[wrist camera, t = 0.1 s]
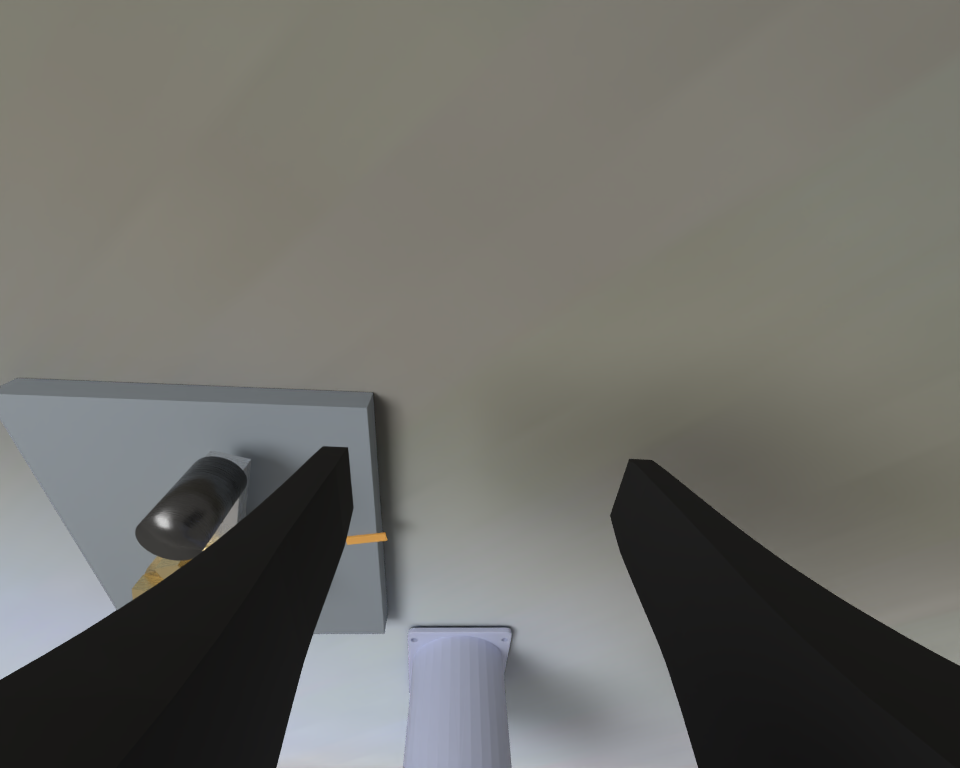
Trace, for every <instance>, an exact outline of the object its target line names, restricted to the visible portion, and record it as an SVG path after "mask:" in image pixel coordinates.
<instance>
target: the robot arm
mask: <svg viewBox="0 0 960 768" xmlns="http://www.w3.org/2000/svg"><path fill="white" fill-rule="evenodd" d="M353 509H354V506H353V495H352V484H351V473H350V462H349V451H348V447H331V446H323V447H321V448H320V449H319V450H318V451H317V452H316V453H315V454H314V455H313V456H311V457H310V458H309V459H308V460H307V461H306V462H305V463H304V464H303V465H302V466H301V467H300V468H299V469H298V470H297V471H296V472H295V473H294V474H293V475H291V476H290V477H289V478H288V479H287V480H286V481H285V482H284V483H283V484H282V485H281V486H280V487H279V488H277V489H276V490H275V491H274V492H273V493H272V494H271V495H270V496H269V497H267V498H266V499H265V500H264V501H263V502H262V503H261V504H260V505H259V506H257V507H256V508H255V509H254V510H253V511H252V512H250V513H249V514H248V515H247V516H246V517H244V518H243V519H242V520H241V521H240V522H238V523H237V524H236V525H235V526H234V527H232V528H231V529H230V530H229V531H227V532H226V533H225V534H224V535H223V536H221V537H220V538H219V539H218V540H216V541H215V542H214V543H213V544H211V545H210V546H209V547H207V548H206V549H205V550H204V551H202V552H201V553H200V554H198V555H197V556H196V557H194V558H193V559H192V560H190V561H189V562H188V563H186V564H185V565H183V566H182V567H181V568H179V569H178V570H176V571H175V572H174V573H172V574H171V575H169V576H168V577H167V578H165V579H164V580H162V581H161V582H159V583H158V584H156V585H155V586H153V587H152V588H150V589H149V590H147V591H146V592H144V593H143V594H141V595H140V596H138V597H136V598H135V599H133V600H132V601H130V602H129V603H127V604H126V605H124V606H123V607H121V608H119V609H118V610H116V611H115V612H113V613H112V614H110V615H109V616H107V617H105V618H104V619H102V620H101V621H99V622H98V623H96V624H95V625H93V626H91V627H90V628H88V629H87V630H85V631H83V632H82V633H80V634H78V635H77V636H75V637H73V638H72V639H70V640H68V641H67V642H65V643H63V644H62V645H60V646H58V647H56V648H55V649H53V650H51V651H50V652H48V653H46V654H45V655H43V656H41V657H39V658H38V659H36V660H34V661H32V662H31V663H29V664H27V665H25V666H24V667H22V668H20V669H18V670H17V671H15V672H13V673H11V674H10V675H8V676H6V677H4V678H3V679H1V680H0V768H276V767H277V763H278V759H279V755H280V751H281V747H282V743H283V739H284V735H285V731H286V728H287V724H288V720H289V716H290V712H291V708H292V704H293V701H294V697H295V693H296V689H297V686H298V682H299V678H300V674H301V671H302V667H303V663H304V660H305V657H306V654H307V651H308V648H309V645H310V642H311V639H312V636H313V633H314V630H315V628H316V625H317V622H318V619H319V617H320V614H321V611H322V608H323V606H324V603H325V600H326V597H327V595H328V592H329V589H330V586H331V584H332V581H333V578H334V575H335V572H336V570H337V567H338V564H339V561H340V558H341V556H342V553H343V550H344V547H345V543H346V539H347V535H348V531H349V526H350V522H351V517H352V513H353ZM610 517H611V521H612V524H613V528H614V532H615V536H616V539H617V543H618V546H619V549H620V553H621V555H622V558H623V560H624V563H625V565H626V568H627V570H628V573H629V575H630V577H631V580H632V582H633V585H634V587H635V589H636V592H637V594H638V596H639V599H640V601H641V603H642V606H643V608H644V610H645V613H646V615H647V618H648V620H649V622H650V625H651V627H652V629H653V632H654V634H655V636H656V639H657V641H658V644H659V646H660V649H661V651H662V654H663V657H664V659H665V662H666V665H667V668H668V671H669V674H670V677H671V680H672V683H673V686H674V690H675V693H676V696H677V699H678V702H679V705H680V708H681V711H682V715H683V718H684V721H685V725H686V728H687V731H688V735H689V738H690V742H691V745H692V748H693V752H694V755H695V758H696V762H697V765H698V768H960V666H959V665H957V664H955V663H953V662H951V661H949V660H948V659H946V658H944V657H942V656H940V655H938V654H936V653H934V652H933V651H931V650H929V649H927V648H925V647H923V646H922V645H920V644H918V643H916V642H914V641H913V640H911V639H909V638H907V637H905V636H904V635H902V634H900V633H898V632H897V631H895V630H893V629H891V628H890V627H888V626H886V625H885V624H883V623H881V622H879V621H878V620H876V619H874V618H873V617H871V616H869V615H867V614H866V613H864V612H862V611H861V610H859V609H857V608H856V607H854V606H852V605H851V604H849V603H847V602H846V601H844V600H842V599H841V598H839V597H838V596H836V595H834V594H833V593H831V592H830V591H828V590H827V589H825V588H824V587H822V586H820V585H819V584H817V583H816V582H814V581H813V580H811V579H810V578H808V577H807V576H805V575H804V574H802V573H801V572H799V571H797V570H796V569H794V568H793V567H792V566H790V565H789V564H787V563H786V562H784V561H783V560H781V559H780V558H779V557H777V556H776V555H774V554H773V553H772V552H770V551H769V550H767V549H766V548H765V547H763V546H762V545H761V544H759V543H758V542H756V541H755V540H754V539H752V538H751V537H750V536H748V535H747V534H746V533H744V532H743V531H742V530H740V529H739V528H738V527H736V526H735V525H734V524H732V523H731V522H730V521H729V520H727V519H726V518H725V517H723V516H722V515H721V514H720V513H718V512H717V511H716V510H715V509H713V508H712V507H711V506H710V505H708V504H707V503H706V502H705V501H703V500H702V499H701V498H700V497H698V496H697V495H696V494H695V493H693V492H692V491H691V490H690V489H689V488H687V487H686V486H685V485H684V484H682V483H681V482H680V481H679V480H677V479H676V478H675V477H674V476H672V475H671V474H670V473H669V472H667V471H666V470H665V469H663V468H662V467H661V466H659V465H658V464H657V463H655V462H654V461H652V460H640V459H629V461H628V464H627V467H626V470H625V473H624V476H623V479H622V482H621V485H620V488H619V491H618V494H617V497H616V500H615V503H614V506H613V509H612V512H611V514H610ZM511 637H512V633H511V629H509V628H411V629H409V631H408V665H409V693H410V700H409V710H408V721H407V731H406V741H405V751H404V762H403V768H512V766H511V754H510V742H509V730H508V719H507V707H506V695H505V683H504V673H505V668H506V663H507V658H508V652H509V647H510V642H511Z"/></svg>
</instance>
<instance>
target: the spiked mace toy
mask: <svg viewBox="0 0 960 768" xmlns="http://www.w3.org/2000/svg"><path fill="white" fill-rule="evenodd" d="M250 467H251V459H248V458H244V457H239V456H234V455H230V454H225V453H221V452H216V451H212V450H211V451H210V452H209V453H208V454H207V455H206V456H205V457H203V458H200V459H199V460H197V461H196V462H195V463H194V464H193V465H192V466H191V467H190V468H189V469H188V470H187V471H186V473H185V474H184V475H183V476H182V477H181V478H180V479H179V480H178V481H177V482H176V484H175V485H174V486H173V487H172V488H171V489H170V490H169V491H168V492H167V493H166V495H165V496H164V497H163V498H162V499H161V500H160V501H159V502H158V503H157V504H156V506H155V507H154V508H153V509H152V510H151V511H150V512H149V513H148V514H147V515H146V517H145V518H144V519H143V520H142V521H141V522H140V523H139V524H138V526H137V527H136V530H135V536H136V539H137V541H138V542H139V543H140V545H141V546H142V547H143V548H145V549H146V550H147V551H149V552H150V553H152V554H154V555H156V556H157V557H156V558H155V559H154V560H153V562H152V563H151V564H150V565H149V567H148V568H147V570H146V572H145V574H144V575H142V576H141V578H140V579H139V580H138V582H137V583H136V584H135V585H134V587H133V588H132V597H133V599H135V598H136V597H138V596H140V595H141V594H143V593H144V592H146V591H147V590H149V589H150V588H152V587H153V586H155V585H156V584H158V583H159V582H161V581H162V580H164V579H165V578H167V577H168V576H169V575H171V574H172V573H174V572H175V571H176V570H178V569H179V568H181V567H182V566H183V565H185V564H186V563H188V562H189V561H190V560H192V559H193V558H194V557H196V556H197V555H198V554H200V553H201V552H202V551H204V550H205V549H206V548H207V547H209V546H210V545H211V544H213V543H214V542H215V541H216V540H218V539H219V538H220V537H221V536H223V535H224V534H225V533H226V532H227V531H229V530H230V529H231V528H232V527H234V526H235V525H236V524H237V523H238V522H240V521H241V520H242V519H243V518H244V517H246V510H247V499H248V488H249V477H250Z"/></svg>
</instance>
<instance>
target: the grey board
mask: <svg viewBox="0 0 960 768" xmlns="http://www.w3.org/2000/svg"><path fill="white" fill-rule="evenodd" d="M0 420H1V422H2V423H3V425H4V427H5V428H6V430H7V432H8V433H9V435H10V436H11V438H12V440H13V441H14V443H15V445H16V446H17V448H18V450H19V451H20V453H21V454H22V456H23V458H24V459H25V461H26V463H27V464H28V466H29V467H30V469H31V471H32V472H33V474H34V476H35V477H36V479H37V481H38V482H39V484H40V485H41V487H42V489H43V490H44V492H45V494H46V495H47V497H48V498H49V500H50V502H51V503H52V505H53V507H54V508H55V510H56V512H57V513H58V515H59V516H60V518H61V520H62V521H63V523H64V525H65V526H66V528H67V530H68V531H69V533H70V534H71V536H72V538H73V539H74V541H75V543H76V544H77V546H78V547H79V549H80V551H81V552H82V554H83V556H84V557H85V559H86V561H87V562H88V564H89V565H90V567H91V569H92V570H93V572H94V574H95V575H96V577H97V578H98V580H99V582H100V583H101V585H102V587H103V588H104V590H105V592H106V593H107V595H108V596H109V598H110V600H111V601H112V603H113V605H114V606H115V608H116V609H117V610H118V609H119V608H121V607H123V606H124V605H126V604H127V603H129V602H130V601H132V600H133V597H132V588H133V587H134V585H135V584H136V583H137V582H138V580H139V579H140V578H141V576H142V575H144V574H145V572H146V570H147V568H148V567H149V565H150V564H151V563H152V562H153V560H154V559H155V558H156V557H157V556H156V555H154V554H152V553H150V552H149V551H147V550H146V549H145V548H143V547H142V546H141V545H140V543H139V542H138V541H137V539H136V536H135V530H136V527H137V526H138V524H139V523H140V522H141V521H142V520H143V519H144V518H145V517H146V515H147V514H148V513H149V512H150V511H151V510H152V509H153V508H154V507H155V506H156V504H157V503H158V502H159V501H160V500H161V499H162V498H163V497H164V496H165V495H166V493H167V492H168V491H169V490H170V489H171V488H172V487H173V486H174V485H175V484H176V482H177V481H178V480H179V479H180V478H181V477H182V476H183V475H184V474H185V473H186V471H187V470H188V469H189V468H190V467H191V466H192V465H193V464H194V463H195V462H196V461H197V460H199V459H200V458H203V457H205V456H206V455H207V454H208V453H209V452H210V451H211V450H212V451H216V452H221V453H225V454H230V455H234V456H239V457H244V458H248V459H251V467H250V477H249V488H248V499H247V510H246V516H247V515H248V514H249V513H250V512H252V511H253V510H254V509H255V508H256V507H257V506H259V505H260V504H261V503H262V502H263V501H264V500H265V499H266V498H267V497H269V496H270V495H271V494H272V493H273V492H274V491H275V490H276V489H277V488H279V487H280V486H281V485H282V484H283V483H284V482H285V481H286V480H287V479H288V478H289V477H290V476H291V475H293V474H294V473H295V472H296V471H297V470H298V469H299V468H300V467H301V466H302V465H303V464H304V463H305V462H306V461H307V460H308V459H309V458H310V457H311V456H313V455H314V454H315V453H316V452H317V451H318V450H319V449H320V448H321V447H323V446H331V447H348V451H349V462H350V473H351V484H352V495H353V506H354V509H353V513H352V517H351V522H350V526H349V531H348V535H347V539H346V543H345V547H344V550H343V553H342V556H341V558H340V561H339V564H338V567H337V570H336V572H335V575H334V578H333V581H332V584H331V586H330V589H329V592H328V595H327V597H326V600H325V603H324V606H323V608H322V611H321V614H320V617H319V619H318V622H317V625H316V628H315V630H314V633H313V634H384V633H385V627H386V621H387V615H388V608H387V593H386V578H385V563H384V548H383V541H387V536H386V533H385V532H384V533H382V519H381V504H380V489H379V474H378V459H377V444H376V429H375V414H374V399H373V392H349V391H324V390H299V389H275V388H250V387H225V386H201V385H176V384H151V383H126V382H102V381H77V380H52V379H28V378H16V379H14V380H12V381H10V382H8V383H6V384H3V385H1V386H0Z"/></svg>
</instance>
